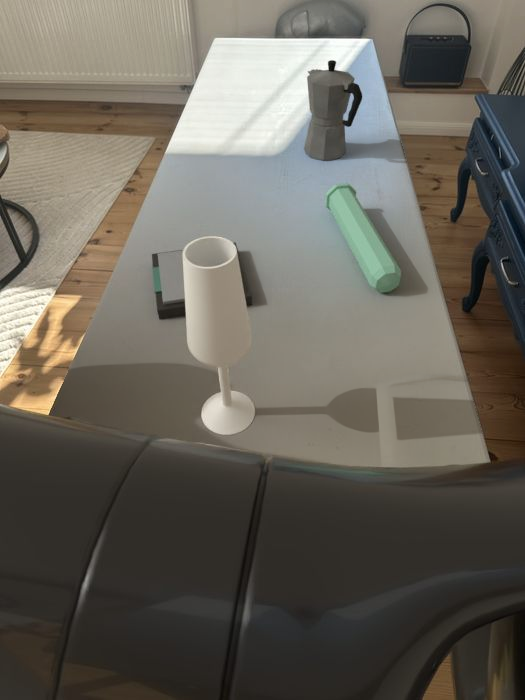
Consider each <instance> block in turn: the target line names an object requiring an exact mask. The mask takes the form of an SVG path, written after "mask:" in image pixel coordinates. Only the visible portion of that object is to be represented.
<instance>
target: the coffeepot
mask: <svg viewBox="0 0 525 700" xmlns="http://www.w3.org/2000/svg"><path fill="white" fill-rule="evenodd" d="M336 65H337V61H336V60H332V59H330V60H328V61H327V69H317V68H316V69H311V70H307V73H308V75H307V76H306V80H307V94H308V106H309V107H308V108H309V112H310V113H311V117H310V118H311V119H310V120H309V123H308V127H307V132H306V137H305V141H304V147H303V150H304V152H305V155H307V156H308V157H309V158H311V159H314V160H318V161H334V160H338V159H339V158H342V157H343V156H344V154H345V153H346V151H347V147H346V129H345V128H346V127H347V128H350V127H351V126H352V125H353V122H354V120H355V117H356V115H357V113H358V110H359V107H360V105H361V103H362V100H363V92H362V90H361V87H360V85H359V84H358V83H355V79H356V78H355V77H354V76H353V75H352V74H351V73H349V71H343V70H338V69H336ZM351 95H352V96H353V98H352V102H351V106H350V110H349V111H348V114H347V120H346V119H344V115H345V114H346V113H347V109H348V106H349V102H350V98H351Z"/></svg>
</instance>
